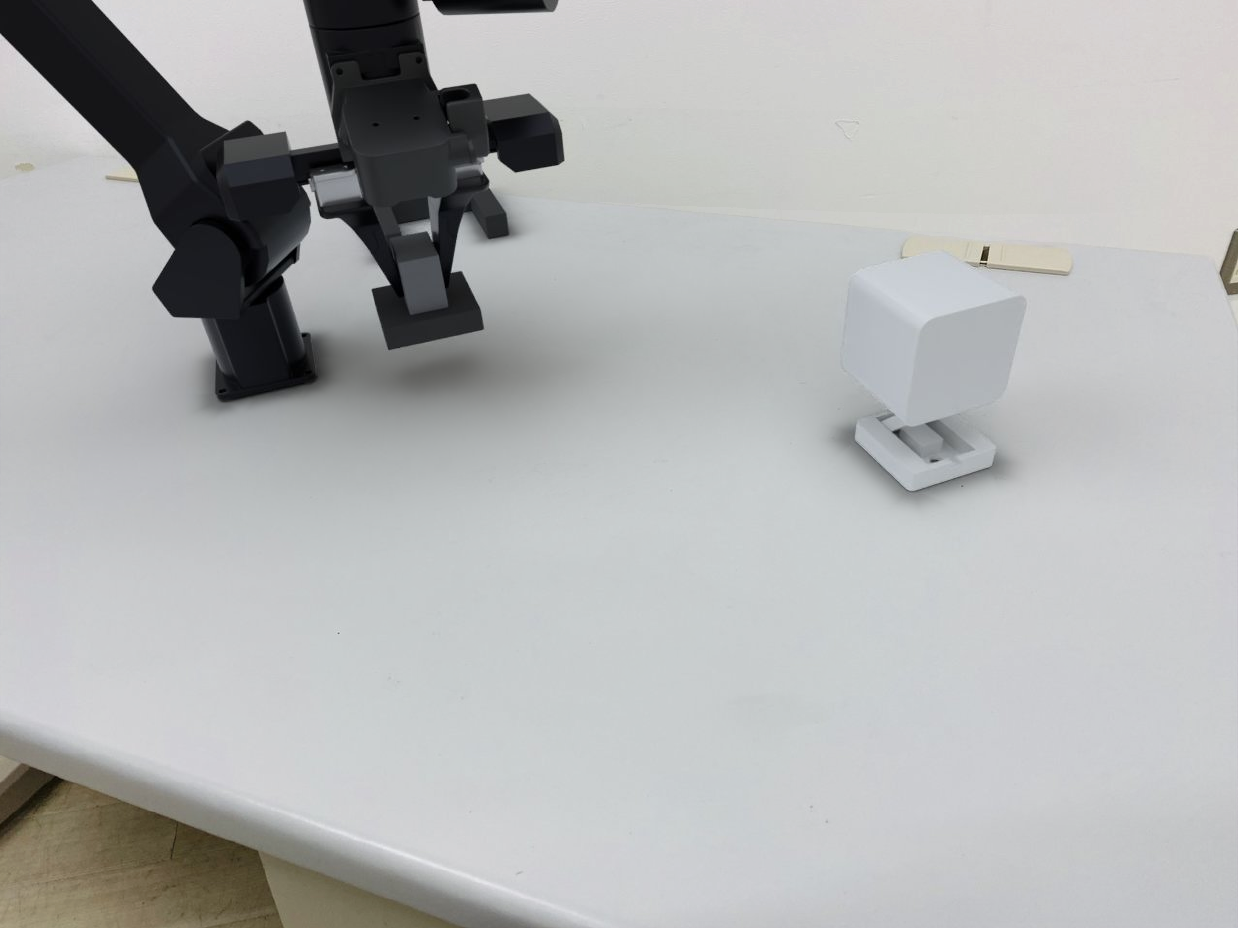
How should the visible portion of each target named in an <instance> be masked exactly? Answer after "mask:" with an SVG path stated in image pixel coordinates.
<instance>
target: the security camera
mask: <svg viewBox="0 0 1238 928" xmlns="http://www.w3.org/2000/svg"><path fill="white" fill-rule="evenodd" d="M1027 304H1028V303H1027V299H1026V297H1025V296H1024V295H1022V294H1021V293H1019V292H1017V291H1015V290H1014V289H1012V288H1011V287H1009V286H1007V285H1005V284H1004V283H1002V282H1000V281H998V280H996V279H995V278H993V277H991V276H989V275H988V274H986V273H984V272H983V271H981V270H979V269H977V267H974V266H972V265H971V264H969V263H967V262H965V261H963V259H960V258H959V257H957V256H956V255H954V254H951V253H950V252H949V251H946V250H945V249H937V250H933V251H929V252H924V253H921V254H916V255H913V256H907V257H904V258H900V259H896V260H892V261H887V262H883V263H879V264H875V265H870V266H866V267H862V268H860V269H858V270H856V271H855V272H854V273H853V274H852V276H851V277H850V279H849V281H848V286H847V293H846V304H845V314H844V321H843V330H842V331H843V332H842V339H841V340H842V341H841V348H840V349H841V350H840V359H839V367H840V369H841V370H842V371H843V372H844V373H845V374H847V375H848V376H849V377H851V378H852V380H854V381H855V382H856V383H857V384H858V385H860V386H861V387H862V388H864V390H866V391H867V392H868V393H869V394H870V395H872V396H873V397H874V398H875V399H876V400H877V401H878V402H880V404H882V405H883V406H884V407H885V408H887V409H888V411H887V410H886V411H884V412H880V413H877V414H873V415H870V416H866V417H863V418H860V419H857V420H856V426H855V433H854V441H855V442H856V443H857V444H858V445H859V446H860V447H861V448H862V449H864V450H865V452H867V453H868V454H869V456H871V457H872V458H873V459H874V460H875V461H876V462H877V463H878V464H879V465H880V466H881V467H882V468H883V469H884V470H885V471H886V472H887V473H888V474H890V475H891V476H892V477H893V478H894V480H896V481H897V482H898V483H899V484H900V485H902V487H903V488H904V489H906V490H907V491H909V492H916V491H919V490H921V489H922V490H923V489H925V488H929V487H932V486H935V485H938V484H941V483H943V482H946V481H950V480H953V479H957V478H960V477H963V476H966V475H970V474H972V473H976V472H979V471H981V470H985V469H987V468H991V467H992V466H993V462H994V459H995V455H996V451H997V445H996V443H994V442H993V441H991V440H990V439H989V438H987V437H986V436H985V435H984V434H982V433H981V432H980V431H978V429H976V428H975V427H973V426H972V425H971V424H970V423H969V422H967V421H966V420H965V419H963V418H962V417H961V416H960V415H958V414H961V413H964V412H965V413H966V412H968V411H971V410H974V409H978V408H981V407H985V406H987V405H991V404H994V403H996V402H997V401H998V400H1000V399H1001V398H1002V396H1004V394H1005V392H1006V391H1007V386H1008V382H1009V378H1010V374H1011V370H1012V366H1013V362H1014V358H1015V355H1016V351H1017V346H1018V342H1019V339H1020V333H1021V330H1022V327H1023V326H1022V325H1023V323H1024V317H1025V314H1026V310H1027V309H1026V308H1027ZM931 461H934V462H931Z"/></svg>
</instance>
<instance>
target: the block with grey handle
mask: <svg viewBox="0 0 1238 928" xmlns="http://www.w3.org/2000/svg"><path fill="white" fill-rule="evenodd" d="M390 243H391V248H392V252H393V256H394V260H395V262H396V265H397V268H398V271H399V273H400V277H401V282H402V286H403V291H404V297H400V298H399V297H398V296H397V294H396V293H395V291H394V289H393V288H392V286H391V285H390V284H389V285H384V286H380V287H379V286H378V287H374V288H373V287H372V288H371V294H372V298H373V301H374V306H375V309H376V313H377V317H378V320H379V324H380V327H381V331H382V334H383V338H384V340H385V344H386V347H387V350H388V351H392V350H397V349H402V348H406V347H411V346H416V345H420V344H425V343H429V342H433V341H434V342H435V341H439V340H443V339H448V338H452V337H457V336H462V335H466V334H470V333H471V334H472V333H475V332H480V331H481V332H482V331H484V330H485V325H484V320H483V314H482V308H481V307H480V305H479V302H478V301H477V298H476V296H475V295H474V293H473V291H472V289H471V286H470V284H469V282H468V281H467V278H466V276H465V274H464V272H463V271H462V270H458V271H454V272H451V276H450V282H449V287H448V288H445V285H444V280H443V275H442V270H441V265H440V260H439V255H438V253H437V251H436V249H435V247H434V244H433V242H432V237H431V236H430V233H429V231H427V230H425V231H421V232H415V233H409V234H405V235H402V236H399V237H393V238H390Z"/></svg>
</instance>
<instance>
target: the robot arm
mask: <svg viewBox="0 0 1238 928" xmlns="http://www.w3.org/2000/svg"><path fill="white" fill-rule="evenodd" d="M421 1H422V2H432V4H433V5H434V7H435V9H436V10H437V11H438V12H439V13H440V14H441V15H443V16H473V15H504V14H505V15H506V14H507V15H508V14H537V13H539V14H540V13H554V12H555V11H556V9H557V7H558V5H559V1H560V0H421ZM302 2H303V3H302V4H303V7H304V12H305V13H306V14H305V16H306V18H307V19H306V20H307V22H308V27H309V32H310V36H311V40H312V44H313V48H314V51H315V55H316V60H317V64H318V68H319V73H320V76H321V80H322V85H323V88H324V92H325V96H326V100H327V105H328V108H329V112H330V117H331V121H332V126H333V129H334V133H335V137H336V141H337V142H333V143H327V144H321V145H314V146H309V147H303V148H302V147H301V148H296V149H292V147H291V144H290V141H289V137H288V134H287V131H285V130H284V131H279V132H273V133H266V134H264V132H263V131H262V130H261V129H260V128H259V127H258V126H257V125H256V124H255V123H253V122H252V121H251V120H247V119H246V120H244V121H243V122H241V123H239V124H238V125H237V126H235V127H233V128H232V129H231V130H229V129H227V128H225V127H223V126H221V125H220V124H217V123H214V122H212V121H211V120H208V119H206V118H204V117H203V116H202V115H200V113H199V112H196V111H195V110H194V108H193V107H192V106H191V105H190V104H189V103H188V102H187V101H186V100H185V98H184V97H182V96H181V95H180V93H179V92H178V91H177V90H176V89H175V88H174V87H173V86H172V85H171V84H170V82H168V80H167V79H166V78H165V77H164V76H163V75H162V74H161V73H160V72H159V71H158V70H157V69H156V68H155V66H154V65H152V63H151V62H150V61H149V60H148V59H147V58H146V57H145V56H144V55H143V53H141V52H140V50H139V49H138V48H137V47H136V46H135V45H134V43H133V42H132V41H130V39H129V38H128V37H127V36H126V35H125V34H124V33H123V32H122V31H121V29H120V28H118V27H117V26H116V24H115V23H114V22H113V21H112V20H111V19H110V18H109V17H108V16H107V15H106V14H105V13H104V11H103V10H102V9H100V7H99V6H98V5H97V4H96V3H95V2H94V1H93V0H0V35H1V36H2V37H3V38H4V40H5V41H7V43H9V44H10V45H11V46H12V47H13V49H14V50H15V51H16V52H17V53H18V54H19V55H20V56H22V58H23V59H24V60H25V61H26V62H28V64H29V65H31V67H32V68H33V69H34V70H35V71H37V73H38V74H39V75H40V76H41V77H42V78H43V79H44V80H45V81H46V82H47V83H48V84H49V85H50V86H51V87H52V88H53V89H54V90H55V91H56V92H57V93H58V94H59V95H60V96H61V97H62V98H63V99H64V100H65V101H66V102H67V103H68V104H69V105H70V106H71V107H72V108H73V109H74V110H75V111H76V112H77V113H78V114H79V115H80V116H81V117H82V118H83V119H84V120H85V122H87V124H89V125H90V126H91V127H92V128H93V129H94V130H95V131H96V132H97V133H98V134H99V135H100V136H101V137H102V138H103V139H104V140H105V141H106V142H107V143H108V145H110V146H111V147H112V148H113V149H114V150H115V151H116V152H117V153H118V154H119V155H120V156H121V157H122V158H123V159H124V161H126V163H128V165H129V166H130V167H131V168H132V170H133V171H134V173H135V174H136V177H137V180H138V183H139V186H140V189H141V191H142V194H143V199H144V200H145V203H146V207H147V209H148V212H149V216H150V218H151V220H152V222H153V224H154V225H155V226H156V228H157V229H158V231H159V232H160V233H161V234H162V235H163V236H164V238H165V240H167V242H168V243H169V244H170V245H171V246H172V248H173V249H174V250H173V251H172V253H171V255H170V257H169V258H168V260H167V261H166V263H165V265H164V267H163V268H162V270H161V271H160V273H159V275H158V276H157V278H156V280H155V281H154V283H153V284H152V286H151V290H152V291H151V292H153V294H154V295H155V297H156V298H157V299H158V300H159V302H160V303H161V305H163V307H164V308H165V309H166V311H167V313H169V315H170V316H171V317H173V318H181V319H182V318H183V319H186V318H187V319H200V321H201V323H202V326H203V328H204V331H205V333H206V336H207V339H208V340H209V344H210V346H211V347H210V348H211V349H212V351H213V354H214V357H215V373H214V374H215V376H214V394H215V396H216V399H217V400H219V401H226V400H230V399H231V400H232V399H235V398H240V397H244V396H249V395H253V394H258V393H263V392H267V391H271V390H277V389H281V388H285V387H290V386H295V385H299V384H303V383H309V382H312V381H315V380H316V379H317V378H318V371H317V364H316V358H315V350H314V345H313V339H312V336H311V335H312V334H311V333H310V332H306V331H305V332H301V329H300V326H299V322H298V320H297V317H296V314H295V310H294V307H293V304H292V300H291V298H290V294H289V291H288V288H287V285H286V281H285V278H284V275H283V274H284V273H285V272H286V271H287V270H288V269H290V267H292V266H293V265H295V264H296V263H298V262H299V260H300V254H301V243H302V242H303V240H304V239H305V238H306V237H307V235H308V234H309V232H310V228H311V224H312V215H311V213H312V212H311V206H312V201H311V199H310V197H309V195H308V193H307V191H306V190H305V188H304V187H303V186H308V185H309V188H310V191H311V193H314V197H315V202H316V207H317V211H318V214H319V217H320V218H322V219H324V220H334V219H339V220H341V221H342V222H343V223H344V224H346V225H347V226H348V227H349V228H350V229H351V230H352V231H353V232H354V233H355V234H356V236H357V237H358V238H359V240H360V241H361V242H362V243H363V244H364V246H365V247H366V248H367V250H368V252H369V253H370V255H371V256H372V258H373V259H374V261H375V263H376V264H377V266H378V267H379V269H380V270H381V272H382V273H383V275H384V276H385V279H386V280H387V281H388V283H389V285H391V286H392V288H393V289H394V291H395V293H396V294H397V296H398V297H399V298H400V297H404V291H403V286H402V282H401V277H400V273H399V271H398V268H397V265H396V262H395V260H394V257H393V255H392V252H391V249H390V247H389V244H388V242H387V239H386V236H385V234H384V231H383V228H382V226H381V223H380V221H379V218H378V215H377V213H376V210H375V208H374V206H375V207H381V208H383V207H391V206H395V205H396V204H397V203H398V202H401V201H406V200H412V199H418V198H423V197H428V204H429V214H430V218H429V223H430V232H431V233H430V234H431V240H432V242H433V244H434V247H435V249H436V251H437V253H438V255H439V260H440V265H441V270H442V275H443V280H444V285H445V288H448V287H449V282H450V276H451V273H452V270H453V265H454V258H455V252H456V246H457V240H458V234H459V230H460V226H461V224H462V219H463V217H464V213H465V212H466V211H465V208H466V206H467V204H468V203H469V201H470V200H471V198H472V197H473V195H474V194H476V193H479V192H483V191H486V190H487V189H488V188H490V183H491V181H490V178H488V175H486V173H485V172H484V170H483V165H482V164H485V158H486V157H488V156H489V154H490V155H491V154H495V153H496V157H497V159H498V161H499V162H500V163H501V164H503V165H504V166H505V167H507V168H508V169H510V170H511V171H512V172H513V173H514V174H517V173H523V172H527V171H533V170H539V169H544V168H550V167H557V166H560V165H561V164H562V163H564V162H565V161H566V160H565V150H564V149H565V148H564V139H563V132H562V128H561V124H560V122H559V119H558V118H557V117H556V116H555V115H554V114H553V113H552V112H551V111H550V110H549V109H548V108H547V107H546V106H544V105H543V104H542V103H541V102H540V100H538V99H537V98H536V97H534V95H532V94H531V93H522V94H516V95H509V96H503V97H498V98H492V99H491V98H490V99H483V96H482V94H481V91H480V89H479V87H478V84H477V83H467V84H466V83H465V84H461V85H460V84H459V85H455V86H448V87H447V86H446V87H442V88H440V89H439V88H438V86H437V84H436V83H435V80H434V79H433V77H432V74H431V69H430V63H429V58H428V51H427V47H426V40H425V35H424V30H423V23H422V18H421V17H422V16H421V12H420V6H419V0H302Z"/></svg>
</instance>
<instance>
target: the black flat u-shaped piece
mask: <svg viewBox="0 0 1238 928" xmlns="http://www.w3.org/2000/svg"><path fill="white" fill-rule="evenodd" d="M374 208H375V210H376V213H377V215H378V218H379V221H380V223H381V226H382V228H383V231H384V234H385V236H386V239H387V242H388V244H389V247H390V249H391V252H392V248H391V243H390V238H393V237H399V236H403V235H402V231H401V228H400V226H399V224H402V223H409V222H413V221H419V220H424V219H425V220H426V219H430V214H429V204H428V197H423V198H418V199H412V200H406V201H401V202H398V203H397V204H396V205H395V206H391V207H383V208H381V207H375V206H374ZM468 211H469V212H470V211H471V212H472V214H473V215H474V217H475V218H476V221H477V222H478V224H479V225H480V227H481V228H482V230H483V232H484V234H485V235H486V237H487V238H488V239H494V238H498V237H504V236H509V235H510V229H509V223H508V216H507V212H506V211H505V209H504V207H503V206H502V205H501V203H500V201H499V200H498V199H497V197H496V196H495V194H494V193H493V191H492V190H491V188H490V187H489V188H488V189H487V190H486V191H483V192H479V193H476V194H474V195H473V197H472V198H471V200H470V201H469V203H468V204H467V206H466V208H465V211H464V212H468ZM392 255H393V252H392ZM393 257H394V256H393Z"/></svg>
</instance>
